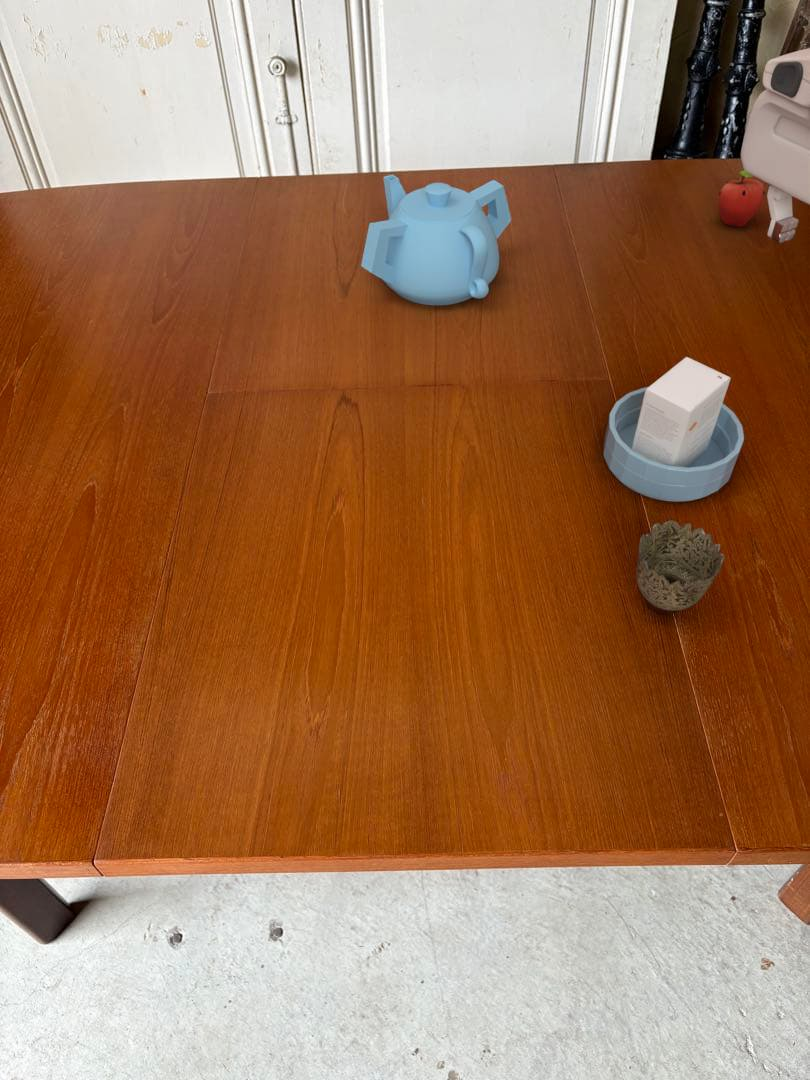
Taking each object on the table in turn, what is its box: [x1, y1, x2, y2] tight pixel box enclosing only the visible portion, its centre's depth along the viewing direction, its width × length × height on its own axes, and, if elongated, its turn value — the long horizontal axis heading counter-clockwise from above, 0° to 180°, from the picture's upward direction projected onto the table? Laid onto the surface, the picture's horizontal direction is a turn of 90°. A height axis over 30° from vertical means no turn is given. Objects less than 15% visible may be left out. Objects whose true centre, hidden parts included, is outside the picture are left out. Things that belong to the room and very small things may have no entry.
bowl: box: [602, 386, 745, 503], centre depth 92 cm, size 14×14×5 cm
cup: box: [636, 519, 725, 616], centre depth 77 cm, size 8×7×8 cm
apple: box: [717, 169, 766, 228], centre depth 126 cm, size 8×7×10 cm
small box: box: [632, 356, 732, 467], centre depth 89 cm, size 8×6×10 cm
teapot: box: [360, 173, 512, 306], centre depth 116 cm, size 19×19×14 cm
